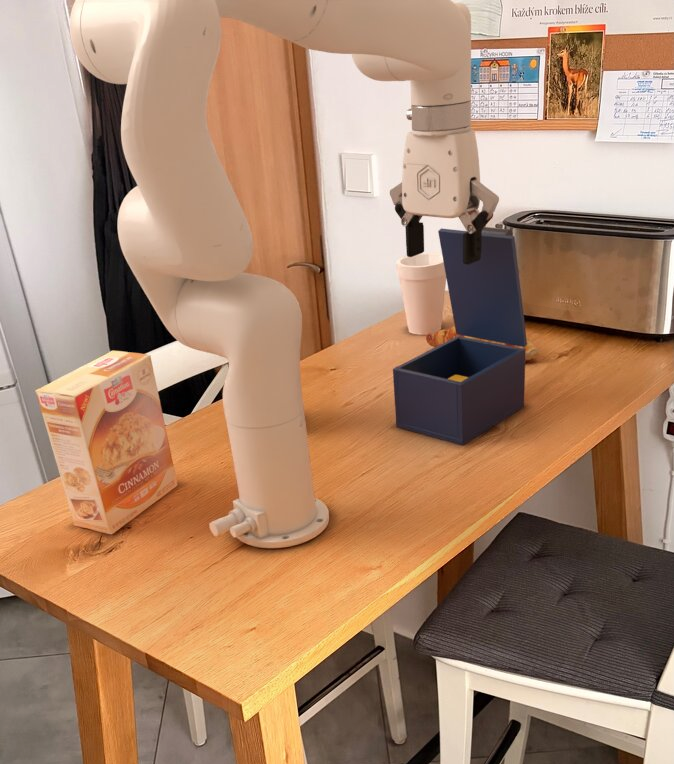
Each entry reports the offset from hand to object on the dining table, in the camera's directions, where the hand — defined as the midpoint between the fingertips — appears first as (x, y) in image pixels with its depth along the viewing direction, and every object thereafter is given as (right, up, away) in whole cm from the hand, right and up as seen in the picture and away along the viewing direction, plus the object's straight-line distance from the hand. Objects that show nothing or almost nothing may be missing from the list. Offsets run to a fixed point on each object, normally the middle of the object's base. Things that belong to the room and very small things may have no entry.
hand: (443, 258), depth 125 cm
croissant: (+11, -4, +36) cm, 38 cm away
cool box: (+5, -19, +15) cm, 25 cm away
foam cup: (+2, +5, +51) cm, 51 cm away
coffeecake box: (-44, -34, +2) cm, 56 cm away
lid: (+7, -1, +9) cm, 11 cm away
